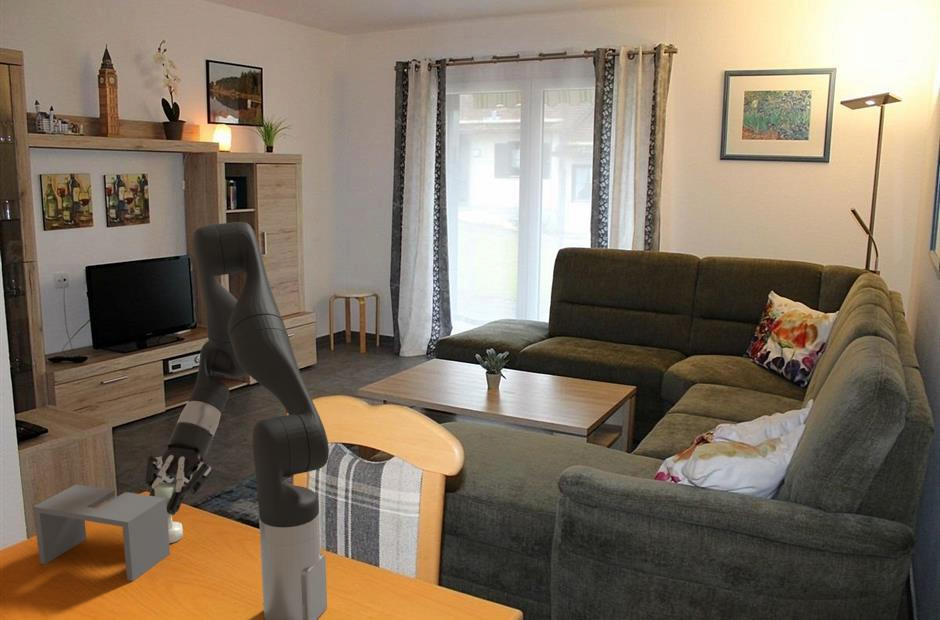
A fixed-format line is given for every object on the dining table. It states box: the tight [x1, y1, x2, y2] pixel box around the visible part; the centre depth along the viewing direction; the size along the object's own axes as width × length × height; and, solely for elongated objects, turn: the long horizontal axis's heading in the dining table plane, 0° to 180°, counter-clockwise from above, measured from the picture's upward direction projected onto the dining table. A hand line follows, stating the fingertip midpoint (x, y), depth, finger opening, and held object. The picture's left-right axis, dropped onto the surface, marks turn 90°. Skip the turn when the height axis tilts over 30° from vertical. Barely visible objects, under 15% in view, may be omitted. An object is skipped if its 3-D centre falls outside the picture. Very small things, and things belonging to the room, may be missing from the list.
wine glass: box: [154, 482, 184, 544], centre depth 152 cm, size 5×5×10 cm
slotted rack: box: [33, 483, 171, 582], centre depth 144 cm, size 20×10×11 cm, turn 73°
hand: (160, 511), depth 150 cm, fingers closed on wine glass, 3 cm apart
